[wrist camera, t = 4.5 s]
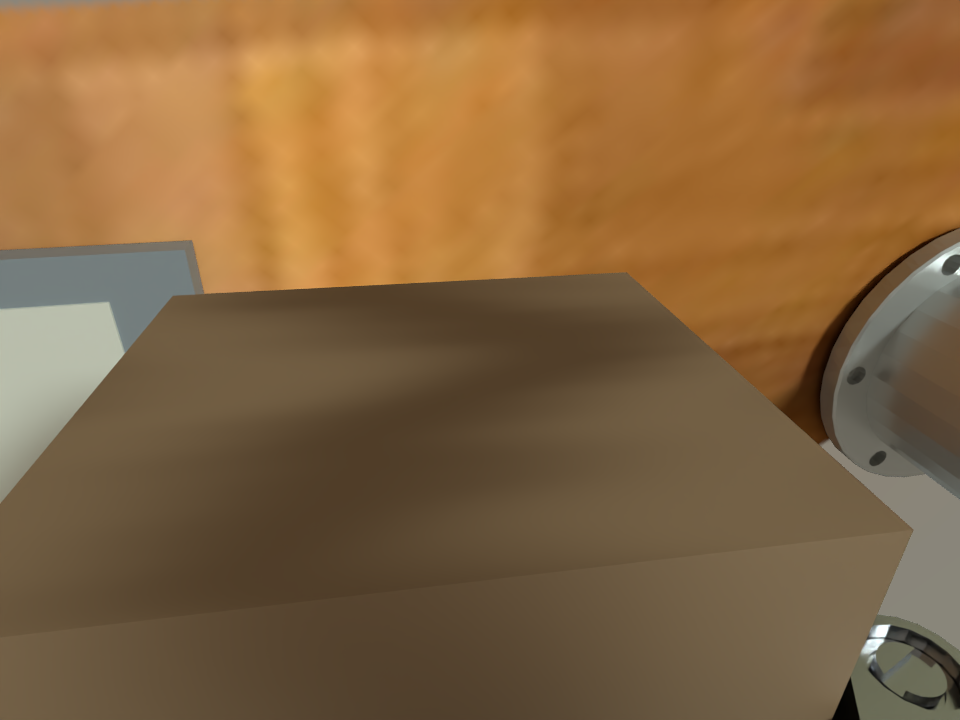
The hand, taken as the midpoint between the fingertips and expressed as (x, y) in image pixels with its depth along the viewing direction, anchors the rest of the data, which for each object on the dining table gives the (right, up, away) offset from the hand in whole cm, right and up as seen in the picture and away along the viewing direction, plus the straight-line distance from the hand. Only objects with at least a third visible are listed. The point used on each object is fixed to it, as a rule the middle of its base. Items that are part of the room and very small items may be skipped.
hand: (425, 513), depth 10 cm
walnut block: (0, +1, +1) cm, 1 cm away
